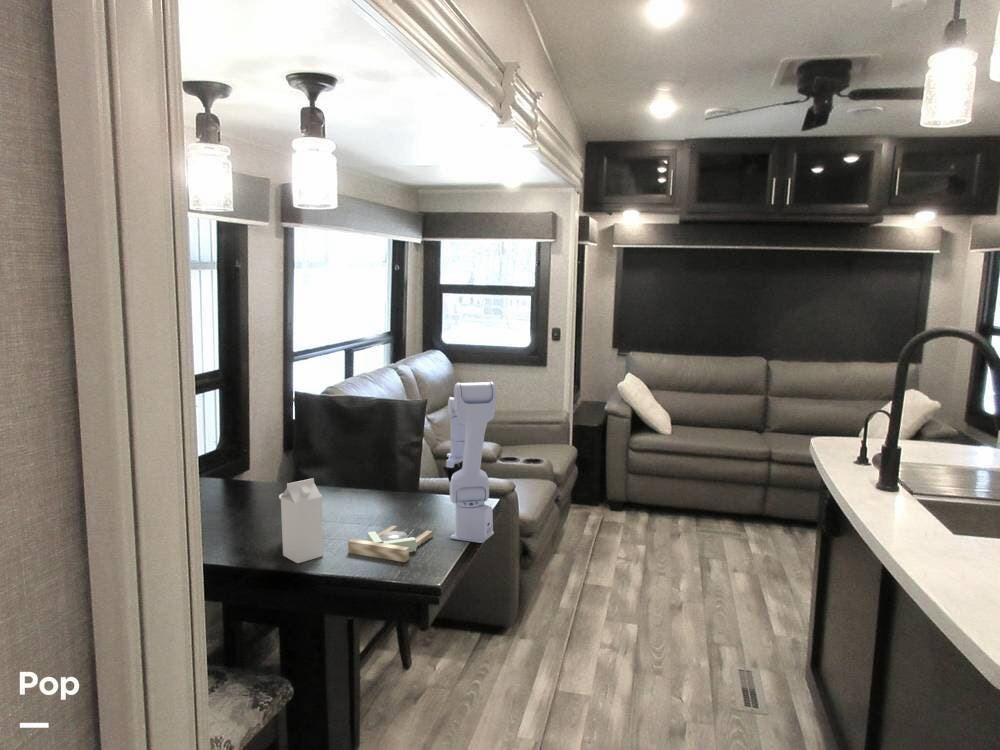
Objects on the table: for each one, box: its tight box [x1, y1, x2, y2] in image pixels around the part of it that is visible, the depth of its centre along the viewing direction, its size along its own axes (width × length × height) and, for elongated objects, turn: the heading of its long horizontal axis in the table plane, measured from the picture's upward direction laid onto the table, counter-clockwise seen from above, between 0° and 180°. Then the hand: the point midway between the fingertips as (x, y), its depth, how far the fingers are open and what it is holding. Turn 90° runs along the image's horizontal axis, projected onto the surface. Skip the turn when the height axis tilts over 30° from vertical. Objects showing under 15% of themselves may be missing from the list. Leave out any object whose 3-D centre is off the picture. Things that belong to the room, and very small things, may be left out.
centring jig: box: [347, 525, 433, 563], centre depth 181 cm, size 16×18×3 cm
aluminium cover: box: [379, 530, 408, 541], centre depth 180 cm, size 7×7×3 cm
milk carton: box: [280, 477, 324, 564], centre depth 172 cm, size 7×7×19 cm
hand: (460, 486), depth 200 cm, fingers open, 7 cm apart
